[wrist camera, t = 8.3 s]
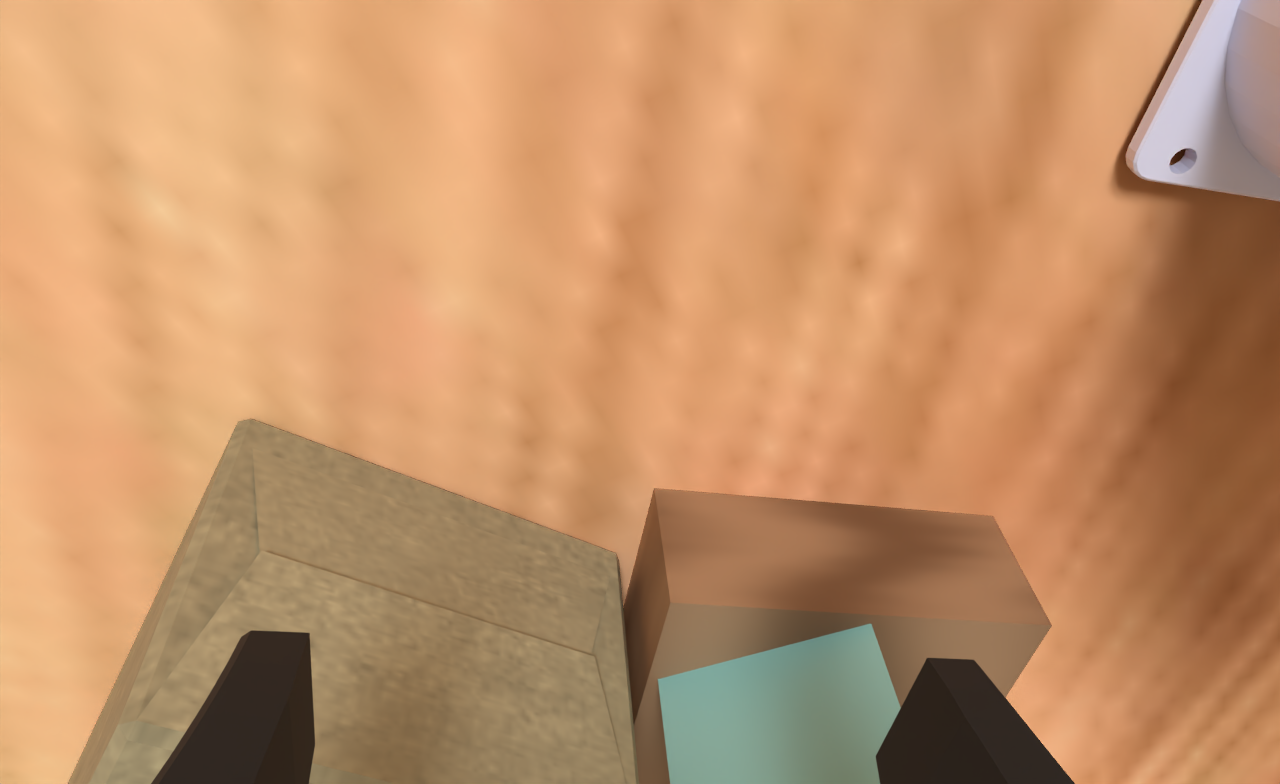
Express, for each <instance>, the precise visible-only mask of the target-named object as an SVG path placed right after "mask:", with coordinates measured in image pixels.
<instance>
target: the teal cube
mask: <svg viewBox="0 0 1280 784" xmlns="http://www.w3.org/2000/svg"><path fill="white" fill-rule="evenodd" d="M658 685H659V694H660V702H661V710H662V719H663V727H664V736H665V744H666V753H667V761H668V769H669V778H670V784H880V780H879V774H878V768H877V762H876V754H877V753H878V751H879V749H880V747H881V745H882V743H883V741H884V739H885V737H886V735H887V733H888V732H889V730H890V728H891V726H892V724H893V722H894V720H895V718H896V716H897V714H898V712H899V711H900V709H901V707H900V704H899V702H898V699H897V696H896V693H895V690H894V687H893V684H892V682H891V679H890V676H889V673H888V670H887V667H886V664H885V661H884V659H883V656H882V653H881V650H880V647H879V644H878V641H877V639H876V636H875V633H874V630H873V627H872V624H867V625H863V626H859V627H855V628H851V629H848V630H844V631H840V632H836V633H832V634H829V635H825V636H821V637H817V638H813V639H810V640H806V641H802V642H798V643H794V644H790V645H787V646H783V647H779V648H775V649H771V650H768V651H764V652H760V653H756V654H752V655H748V656H745V657H741V658H737V659H733V660H729V661H726V662H722V663H718V664H714V665H710V666H707V667H703V668H699V669H695V670H691V671H687V672H684V673H680V674H676V675H672V676H668V677H665V678H661V679H658Z"/></svg>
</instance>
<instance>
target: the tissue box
mask: <svg viewBox="0 0 1280 784" xmlns="http://www.w3.org/2000/svg"><path fill="white" fill-rule="evenodd" d="M251 630H256V631H281V632H305V633H310V650H311V670H312V690H313V710H314V729H315V748H314V754H313V760H312V767H311V773H310V779H309V784H639V779H638V768H637V757H636V745H635V734H634V723H633V712H632V701H631V690H630V679H629V668H628V657H627V645H626V634H625V623H624V612H623V601H622V590H621V579H620V568H619V560H618V557H617V555H616V553H614V552H611V551H609V550H606V549H603V548H600V547H598V546H595V545H592V544H590V543H587V542H584V541H581V540H579V539H576V538H573V537H571V536H568V535H565V534H562V533H560V532H557V531H554V530H552V529H549V528H546V527H543V526H541V525H538V524H535V523H533V522H530V521H527V520H524V519H522V518H519V517H516V516H514V515H511V514H508V513H505V512H503V511H500V510H497V509H495V508H492V507H489V506H486V505H484V504H481V503H478V502H476V501H473V500H470V499H468V498H465V497H462V496H459V495H457V494H454V493H451V492H449V491H446V490H443V489H440V488H438V487H435V486H432V485H430V484H427V483H424V482H421V481H419V480H416V479H413V478H411V477H408V476H405V475H402V474H400V473H397V472H394V471H392V470H389V469H386V468H383V467H381V466H378V465H375V464H373V463H370V462H367V461H364V460H362V459H359V458H356V457H354V456H351V455H348V454H345V453H343V452H340V451H337V450H335V449H332V448H329V447H326V446H324V445H321V444H318V443H316V442H313V441H310V440H307V439H305V438H302V437H299V436H297V435H294V434H291V433H288V432H286V431H283V430H280V429H278V428H275V427H272V426H269V425H267V424H264V423H261V422H259V421H256V420H253V419H248V420H244V421H240V422H238V423H237V425H236V427H235V430H234V432H233V434H232V436H231V438H230V440H229V442H228V444H227V447H226V449H225V451H224V453H223V455H222V457H221V459H220V461H219V464H218V466H217V468H216V470H215V472H214V474H213V476H212V478H211V481H210V483H209V485H208V487H207V489H206V491H205V493H204V495H203V498H202V500H201V502H200V504H199V506H198V508H197V510H196V512H195V515H194V517H193V519H192V521H191V523H190V525H189V527H188V529H187V532H186V534H185V536H184V538H183V540H182V542H181V544H180V546H179V548H178V551H177V553H176V555H175V557H174V559H173V561H172V563H171V565H170V568H169V570H168V572H167V574H166V576H165V578H164V580H163V582H162V585H161V587H160V589H159V591H158V593H157V595H156V597H155V599H154V602H153V604H152V606H151V608H150V610H149V612H148V614H147V616H146V619H145V621H144V623H143V625H142V627H141V629H140V631H139V633H138V636H137V638H136V640H135V642H134V644H133V646H132V648H131V650H130V653H129V655H128V657H127V659H126V661H125V663H124V665H123V667H122V670H121V672H120V674H119V676H118V678H117V680H116V682H115V684H114V687H113V689H112V691H111V693H110V695H109V697H108V699H107V701H106V704H105V706H104V708H103V710H102V712H101V714H100V716H99V718H98V721H97V723H96V725H95V727H94V729H93V731H92V733H91V735H90V738H89V740H88V742H87V744H86V746H85V748H84V750H83V752H82V755H81V757H80V759H79V761H78V763H77V765H76V767H75V769H74V772H73V774H72V776H71V778H70V780H69V782H68V784H151V783H152V782H153V780H154V779H155V777H156V776H157V774H158V773H159V771H160V770H161V768H162V767H163V766H164V764H165V763H166V761H167V760H168V758H169V757H170V755H171V754H172V752H173V751H174V749H175V748H176V746H177V745H178V743H179V742H180V740H181V738H182V737H183V735H184V734H185V732H186V731H187V729H188V728H189V726H190V724H191V723H192V721H193V720H194V718H195V717H196V715H197V713H198V712H199V710H200V709H201V707H202V705H203V704H204V702H205V700H206V699H207V697H208V695H209V694H210V692H211V690H212V689H213V687H214V685H215V684H216V682H217V680H218V678H219V677H220V675H221V673H222V671H223V670H224V668H225V666H226V664H227V662H228V661H229V659H230V657H231V655H232V653H233V651H234V649H235V647H236V645H237V644H238V642H239V640H240V638H241V637H242V636H243V635H245V634H246V633H248V632H249V631H251Z"/></svg>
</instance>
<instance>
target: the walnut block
mask: <svg viewBox="0 0 1280 784" xmlns="http://www.w3.org/2000/svg"><path fill="white" fill-rule="evenodd" d="M623 612H624V623H625V634H626V645H627V657H628V668H629V679H630V690H631V701H632V712H633V723H634V734H635V745H636V757H637V768H638V779H639V784H670V778H669V769H668V761H667V753H666V744H665V736H664V727H663V719H662V710H661V702H660V694H659V685H658V679H661V678H665V677H668V676H672V675H676V674H680V673H684V672H687V671H691V670H695V669H699V668H703V667H707V666H710V665H714V664H718V663H722V662H726V661H729V660H733V659H737V658H741V657H745V656H748V655H752V654H756V653H760V652H764V651H768V650H771V649H775V648H779V647H783V646H787V645H790V644H794V643H798V642H802V641H806V640H810V639H813V638H817V637H821V636H825V635H829V634H832V633H836V632H840V631H844V630H848V629H851V628H855V627H859V626H863V625H867V624H872V627H873V630H874V633H875V636H876V639H877V641H878V644H879V647H880V650H881V653H882V656H883V659H884V661H885V664H886V667H887V670H888V673H889V676H890V679H891V682H892V684H893V687H894V690H895V693H896V696H897V699H898V702H899V704H900V707H902V705H903V703H904V701H905V699H906V697H907V695H908V693H909V691H910V690H911V688H912V686H913V684H914V682H915V680H916V678H917V676H918V674H919V672H920V671H921V669H922V667H923V665H924V663H925V661H926V659H927V658H947V659H971V660H975V661H976V663H977V664H978V665H979V666H980V667H981V669H982V670H983V671H984V672H985V673H986V675H987V676H988V677H989V678H990V680H991V681H992V682H993V683H994V684H995V686H996V687H997V688H998V689H999V691H1000V692H1001V693H1002V694H1003V696H1004V697H1006V696H1007V694H1008V693H1009V691H1010V689H1011V688H1012V686H1013V685H1014V683H1015V682H1016V680H1017V679H1018V677H1019V676H1020V674H1021V672H1022V671H1023V669H1024V668H1025V666H1026V665H1027V663H1028V662H1029V660H1030V659H1031V657H1032V655H1033V654H1034V652H1035V651H1036V649H1037V648H1038V646H1039V645H1040V643H1041V642H1042V640H1043V638H1044V637H1045V635H1046V634H1047V632H1048V631H1049V629H1050V628H1051V626H1052V625H1051V623H1050V621H1049V619H1048V618H1047V616H1046V614H1045V612H1044V610H1043V608H1042V606H1041V604H1040V603H1039V601H1038V599H1037V597H1036V595H1035V593H1034V591H1033V590H1032V588H1031V586H1030V584H1029V582H1028V580H1027V578H1026V577H1025V575H1024V573H1023V571H1022V569H1021V567H1020V565H1019V564H1018V562H1017V560H1016V558H1015V556H1014V554H1013V552H1012V551H1011V549H1010V547H1009V545H1008V543H1007V541H1006V539H1005V538H1004V536H1003V534H1002V532H1001V530H1000V528H999V526H998V524H997V523H996V521H995V519H994V517H993V516H986V515H974V514H962V513H950V512H938V511H925V510H913V509H901V508H889V507H877V506H864V505H852V504H840V503H828V502H816V501H803V500H791V499H779V498H767V497H755V496H742V495H730V494H718V493H706V492H694V491H681V490H669V489H657V488H654V491H653V495H652V499H651V503H650V507H649V511H648V515H647V518H646V522H645V526H644V530H643V534H642V538H641V542H640V546H639V549H638V553H637V557H636V561H635V565H634V569H633V573H632V577H631V580H630V584H629V588H628V592H627V596H626V600H625V604H624V608H623Z"/></svg>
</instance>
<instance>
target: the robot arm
mask: <svg viewBox="0 0 1280 784" xmlns="http://www.w3.org/2000/svg"><path fill="white" fill-rule="evenodd" d="M1182 149H1186V151H1185V155H1184V156H1183V157H1182V158H1181V160H1180V161H1179V162H1177V163H1175V164H1173V165H1169V164H1170V161H1171V158H1172V157H1173V156H1174V155H1175V154H1176V153H1177V152H1179V151H1180V150H1182ZM1126 164H1127V166H1128V167H1129V168H1130V170H1131V171H1132V172H1133V173H1134V174H1136V175H1137V176H1138V177H1140V178H1142V179H1144V180H1148V181H1154V182H1160V183H1167V184H1173V185H1179V186H1185V187H1192V188H1198V189H1204V190H1211V191H1217V192H1223V193H1230V194H1236V195H1242V196H1249V197H1255V198H1261V199H1268V200H1274V201H1280V0H1202V2H1201V4H1200V6H1199V8H1198V10H1197V12H1196V14H1195V16H1194V18H1193V20H1192V22H1191V24H1190V26H1189V28H1188V30H1187V32H1186V34H1185V36H1184V38H1183V40H1182V42H1181V44H1180V46H1179V48H1178V50H1177V52H1176V54H1175V56H1174V58H1173V60H1172V61H1171V63H1170V65H1169V67H1168V69H1167V71H1166V73H1165V75H1164V77H1163V79H1162V81H1161V83H1160V85H1159V87H1158V89H1157V91H1156V93H1155V95H1154V97H1153V99H1152V101H1151V103H1150V105H1149V107H1148V109H1147V111H1146V113H1145V115H1144V117H1143V119H1142V121H1141V123H1140V125H1139V127H1138V129H1137V131H1136V133H1135V135H1134V137H1133V139H1132V141H1131V142H1130V144H1129V146H1128V150H1127V153H1126ZM314 748H315V729H314V710H313V690H312V670H311V650H310V633H305V632H281V631H256V630H251V631H249V632H248V633H246V634H245V635H243V636H242V637H241V638H240V640H239V642H238V644H237V645H236V647H235V649H234V651H233V653H232V655H231V657H230V659H229V661H228V662H227V664H226V666H225V668H224V670H223V671H222V673H221V675H220V677H219V678H218V680H217V682H216V684H215V685H214V687H213V689H212V690H211V692H210V694H209V695H208V697H207V699H206V700H205V702H204V704H203V705H202V707H201V709H200V710H199V712H198V713H197V715H196V717H195V718H194V720H193V721H192V723H191V724H190V726H189V728H188V729H187V731H186V732H185V734H184V735H183V737H182V738H181V740H180V742H179V743H178V745H177V746H176V748H175V749H174V751H173V752H172V754H171V755H170V757H169V758H168V760H167V761H166V763H165V764H164V766H163V767H162V768H161V770H160V771H159V773H158V774H157V776H156V777H155V779H154V780H153V782H152V783H151V784H309V779H310V773H311V767H312V760H313V754H314ZM876 762H877V768H878V774H879V780H880V784H1075V783H1074V782H1073V781H1072V780H1071V778H1070V777H1069V776H1068V775H1067V774H1066V772H1065V771H1064V770H1063V769H1062V767H1061V766H1060V765H1059V764H1058V763H1057V761H1056V760H1055V759H1054V758H1053V756H1052V755H1051V754H1050V753H1049V751H1048V750H1047V749H1046V748H1045V747H1044V745H1043V744H1042V743H1041V742H1040V740H1039V739H1038V738H1037V737H1036V735H1035V734H1034V733H1033V732H1032V730H1031V729H1030V728H1029V727H1028V725H1027V724H1026V723H1025V722H1024V721H1023V719H1022V718H1021V717H1020V716H1019V714H1018V713H1017V712H1016V711H1015V709H1014V708H1013V707H1012V706H1011V704H1010V703H1009V702H1008V701H1007V699H1006V698H1005V697H1004V696H1003V694H1002V693H1001V692H1000V691H999V689H998V688H997V687H996V686H995V684H994V683H993V682H992V681H991V680H990V678H989V677H988V676H987V675H986V673H985V672H984V671H983V670H982V669H981V667H980V666H979V665H978V664H977V663H976V661H975V660H971V659H947V658H927V659H926V661H925V663H924V665H923V667H922V669H921V671H920V672H919V674H918V676H917V678H916V680H915V682H914V684H913V686H912V688H911V690H910V691H909V693H908V695H907V697H906V699H905V701H904V703H903V705H902V707H901V709H900V711H899V712H898V714H897V716H896V718H895V720H894V722H893V724H892V726H891V728H890V730H889V732H888V733H887V735H886V737H885V739H884V741H883V743H882V745H881V747H880V749H879V751H878V753H877V754H876Z"/></svg>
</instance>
